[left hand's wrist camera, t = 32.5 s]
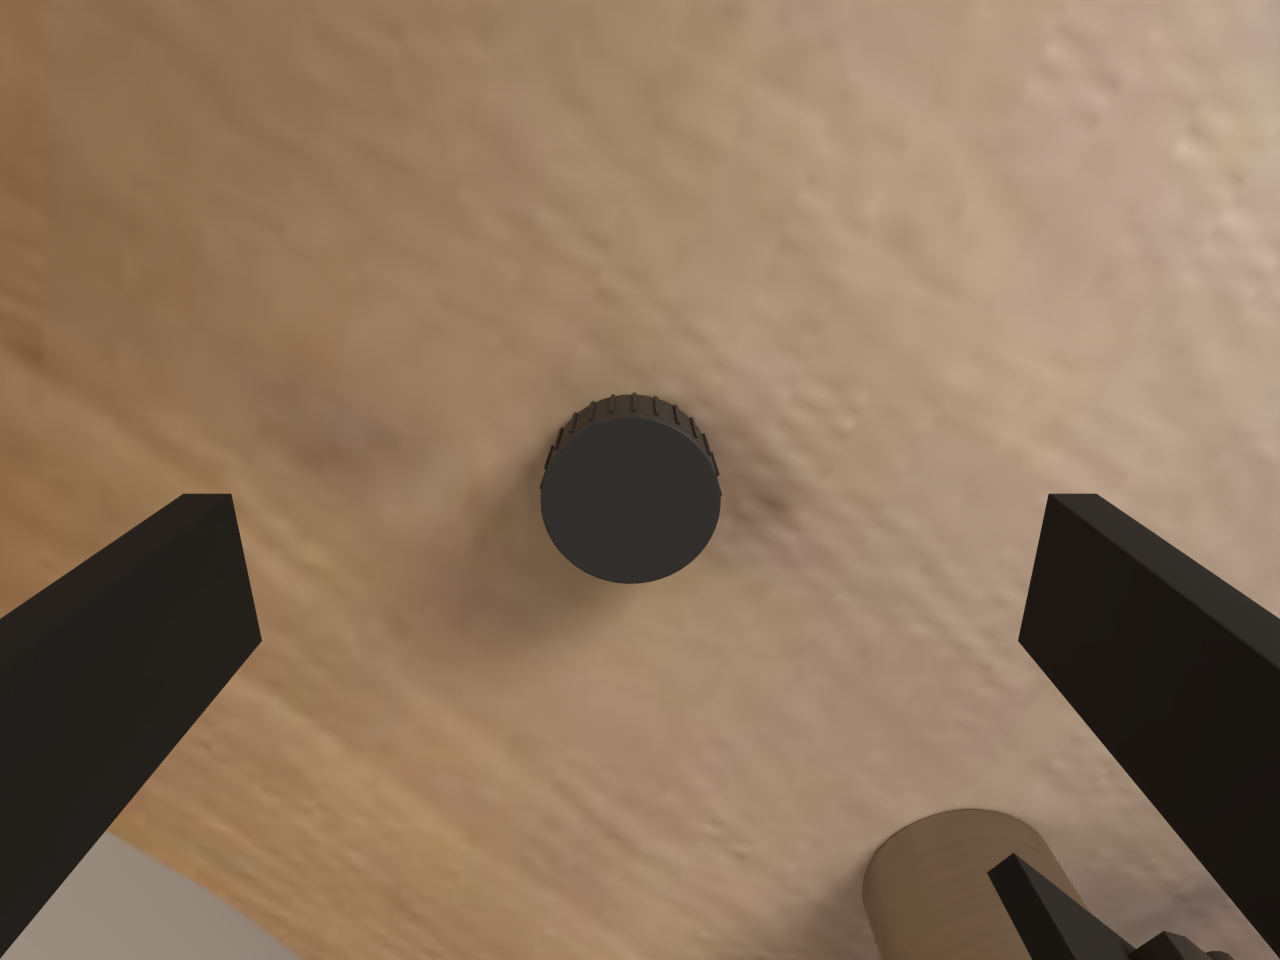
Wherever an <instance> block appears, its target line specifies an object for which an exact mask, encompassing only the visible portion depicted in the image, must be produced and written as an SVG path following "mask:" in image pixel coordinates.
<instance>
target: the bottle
mask: <svg viewBox="0 0 1280 960" xmlns="http://www.w3.org/2000/svg"><path fill="white" fill-rule="evenodd" d="M1012 853H1015V854H1016V855H1017V856H1019V857H1020V858H1021V859H1022V860H1024V861H1025V862H1026V863H1027V864H1029V865H1030V866H1031V867H1033V868H1034V869H1035V870H1036V871H1038V872H1039V873H1040V874H1041V875H1043V876H1044V877H1045V878H1046V879H1048V880H1049V881H1050V882H1051V883H1053V884H1054V885H1055V886H1057V887H1058V888H1059V889H1060V890H1062V891H1063V892H1064V893H1065V894H1067V895H1068V896H1069V897H1070V898H1072V899H1073V900H1074V901H1076V902H1077V903H1078V904H1079V905H1081V906H1082V907H1083V908H1084V909H1086V910H1087V911H1088V912H1089V913H1090V911H1089V910H1088V908H1087V907H1086V905H1085V903H1084V902H1083V900H1082V899H1081V897H1080V896H1079V894H1078V892H1077V891H1076V889H1075V888H1074V886H1073V885H1072V883H1071V881H1070V880H1069V878H1068V877H1067V875H1066V874H1065V872H1064V871H1063V869H1062V867H1061V866H1060V864H1059V863H1058V861H1057V860H1056V858H1055V856H1054V855H1053V853H1052V852H1051V850H1050V849H1049V847H1048V845H1047V844H1046V842H1045V841H1044V840H1043V838H1042V837H1041V836H1040V835H1039V834H1038V833H1037V832H1036V831H1035V830H1034V829H1032V828H1031V827H1030V826H1028V825H1027V824H1025V823H1024V822H1022V821H1020V820H1018V819H1016V818H1014V817H1012V816H1009V815H1006V814H1003V813H999V812H994V811H989V810H977V809H967V810H955V811H948V812H944V813H940V814H936V815H933V816H930V817H927V818H924V819H922V820H919V821H917V822H915V823H913V824H911V825H909V826H908V827H906V828H904V829H903V830H901V831H900V832H898V833H897V834H896V835H894V836H893V837H892V838H890V839H889V840H888V841H887V842H886V843H885V844H884V845H883V846H882V847H881V849H880V850H879V851H878V852H877V853H876V855H875V856H874V858H873V860H872V861H871V863H870V865H869V867H868V869H867V872H866V874H865V878H864V883H863V903H864V906H865V910H866V913H867V916H868V919H869V922H870V925H871V928H872V932H873V935H874V938H875V941H876V944H877V947H878V950H879V953H880V956H881V959H882V960H1032V958H1031V957H1030V955H1029V953H1028V951H1027V949H1026V947H1025V945H1024V943H1023V941H1022V939H1021V937H1020V935H1019V934H1018V932H1017V930H1016V928H1015V926H1014V924H1013V922H1012V920H1011V918H1010V916H1009V914H1008V913H1007V911H1006V909H1005V907H1004V905H1003V903H1002V901H1001V899H1000V897H999V895H998V893H997V892H996V890H995V888H994V886H993V884H992V882H991V880H990V878H989V876H988V874H987V872H988V871H990V870H991V869H992V868H994V867H995V866H996V865H998V864H999V863H1000V862H1002V861H1003V860H1004V859H1006V858H1007V857H1008V856H1010V855H1011V854H1012Z"/></svg>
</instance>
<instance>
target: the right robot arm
mask: <svg viewBox="0 0 1280 960" xmlns="http://www.w3.org/2000/svg"><path fill="white" fill-rule="evenodd" d="M987 874H988V876H989V878H990V880H991V882H992V884H993V886H994V888H995V890H996V892H997V893H998V895H999V897H1000V899H1001V901H1002V903H1003V905H1004V907H1005V909H1006V911H1007V913H1008V914H1009V916H1010V918H1011V920H1012V922H1013V924H1014V926H1015V928H1016V930H1017V932H1018V934H1019V935H1020V937H1021V939H1022V941H1023V943H1024V945H1025V947H1026V949H1027V951H1028V953H1029V955H1030V957H1031V958H1032V960H1234V959H1233V958H1232V957H1231V956H1230V955H1229V954H1226V953H1224V952H1220V951H1211V952H1207V953H1204V952H1203V951H1201V950H1200V949H1199V948H1198V947H1197V946H1196V945H1195V944H1193V943H1192V942H1191V941H1190V940H1188V939H1187V938H1186V937H1184V936H1180V935H1176V934H1173V933H1169V932H1166V931H1163V932H1162V933H1160V934H1159V935H1157V936H1156V937H1154V938H1153V939H1151V940H1150V941H1148V942H1147V943H1145V944H1144V945H1142V946H1141V947H1139V948H1138V949H1135V948H1134V947H1133V946H1131V945H1130V944H1129V943H1127V942H1126V941H1125V940H1124V939H1122V938H1121V937H1120V936H1119V935H1117V934H1116V933H1115V932H1114V931H1112V930H1111V929H1110V928H1108V927H1107V926H1106V925H1105V924H1103V923H1102V922H1101V921H1100V920H1098V919H1097V918H1096V917H1095V916H1093V915H1092V914H1091V913H1089V912H1088V911H1087V910H1086V909H1084V908H1083V907H1082V906H1081V905H1079V904H1078V903H1077V902H1076V901H1074V900H1073V899H1072V898H1070V897H1069V896H1068V895H1067V894H1065V893H1064V892H1063V891H1062V890H1060V889H1059V888H1058V887H1057V886H1055V885H1054V884H1053V883H1051V882H1050V881H1049V880H1048V879H1046V878H1045V877H1044V876H1043V875H1041V874H1040V873H1039V872H1038V871H1036V870H1035V869H1034V868H1033V867H1031V866H1030V865H1029V864H1027V863H1026V862H1025V861H1024V860H1022V859H1021V858H1020V857H1019V856H1017V855H1016V854H1015V853H1012V854H1011V855H1010V856H1008V857H1007V858H1006V859H1004V860H1003V861H1002V862H1000V863H999V864H998V865H996V866H995V867H994V868H992V869H991V870H990V871H988V872H987Z"/></svg>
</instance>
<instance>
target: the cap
mask: <svg viewBox="0 0 1280 960" xmlns="http://www.w3.org/2000/svg"><path fill="white" fill-rule="evenodd" d="M544 469H546V470H545V473H544V476H543V479H542V482H541V485H540V489H541V511H542V516H543V521H544V524H545V526H546V529H547V532H548V534H549V536H550V537H551V539H552V541H553V543H554V544H555V546H556V547H557V548H558V550H559V551H560V552H561V553H562V554H563V555H564V556H565V557H566V558H567V559H568V560H569V561H570V562H571V563H573V564H574V565H575V566H576V567H578V568H580V569H581V570H583V571H584V572H586V573H588V574H590V575H592V576H594V577H597V578H600V579H603V580H607V581H611V582H616V583H626V584H631V583H645V582H651V581H655V580H658V579H662V578H664V577H667V576H669V575H672V574H673V573H675V572H677V571H679V570H681V569H682V568H684V567H685V566H686V565H688V564H689V563H690V562H691V561H693V560H694V559H695V558H696V557H697V556H698V555H699V554H700V552H701V551H702V550H703V549H704V548H705V546H706V545H707V543H708V542H709V540H710V538H711V537H712V534H713V532H714V530H715V528H716V525H717V521H718V518H719V512H720V498H721V494H722V493H721V490H720V487H719V482H718V479H717V476H719V472H718V469H717V465H716V462H715V459H714V456H713V452H711V451H710V448H709V445H708V441H707V438H706V435H705V433H704V434H702V433H701V432H700V430H699V429H698V427H697V426H696V425H695V422H694V419H693V418H692V417H691V418H689V417H688V416H686V415H685V414H684V413H683V412H681V411H680V410H679V409H678V407H677V405H675V404H674V406H672V405H670V404H669V403H667V402H664V401H661V400H659V399H658V397H657V396H654V398H652V397H648V396H641V395H636V393H633V395H620V396H615V394H613V395H611V397H610V398H606V399H603V400H600V401H598V402H596V403H595V402H594V401H592V402H591V404H590V406H588V407H586V408H585V409H583V410H582V411H580V412H579V413H578V414H577V413H576V412H575V413H574V414H573V417H572V419H571V420H570V421H569V422H568V423H567V425H566V426H565V427H564V429H563V428H562V427H561V429H560V430H559V433H558V436H557V439H556V443H555V446H551V449H550V452H549V455H548V458H547V461H546V464H545V467H544Z"/></svg>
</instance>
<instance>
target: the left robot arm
mask: <svg viewBox="0 0 1280 960" xmlns="http://www.w3.org/2000/svg"><path fill="white" fill-rule="evenodd" d="M261 641H262V639H261V634H260V629H259V624H258V620H257V615H256V610H255V605H254V601H253V596H252V591H251V586H250V581H249V577H248V572H247V567H246V562H245V557H244V553H243V548H242V543H241V538H240V533H239V529H238V524H237V519H236V514H235V509H234V505H233V500H232V495H231V494H182V495H181V496H180V497H178V498H177V499H175V500H174V501H172V502H171V503H169V504H168V505H166V506H165V507H163V508H162V509H161V510H159V511H158V512H156V513H155V514H153V515H152V516H150V517H149V518H147V519H146V520H144V521H143V522H142V523H140V524H139V525H137V526H136V527H134V528H133V529H131V530H130V531H128V532H127V533H125V534H124V535H122V536H121V537H120V538H118V539H117V540H115V541H114V542H112V543H111V544H109V545H108V546H106V547H105V548H103V549H102V550H101V551H99V552H98V553H96V554H95V555H93V556H92V557H90V558H89V559H87V560H86V561H84V562H83V563H81V564H80V565H79V566H77V567H76V568H74V569H73V570H71V571H70V572H68V573H67V574H65V575H64V576H62V577H61V578H60V579H58V580H57V581H55V582H54V583H52V584H51V585H49V586H48V587H46V588H45V589H43V590H42V591H41V592H39V593H38V594H36V595H35V596H33V597H32V598H30V599H29V600H27V601H26V602H24V603H23V604H21V605H20V606H19V607H17V608H16V609H14V610H13V611H11V612H10V613H8V614H7V615H5V616H4V617H2V618H1V619H0V958H1V957H2V956H3V954H4V953H5V952H6V951H7V950H8V948H9V947H10V946H11V945H12V944H13V942H14V941H15V940H16V939H17V937H18V936H19V935H20V934H21V933H22V931H23V930H24V929H25V928H26V927H27V925H28V924H29V923H30V922H31V920H32V919H33V918H34V917H35V916H36V914H37V913H38V912H39V911H40V910H41V908H42V907H43V906H44V905H45V903H46V902H47V901H48V900H49V899H50V897H51V896H52V895H53V894H54V893H55V891H56V890H57V889H58V888H59V886H60V885H61V884H62V883H63V882H64V880H65V879H66V878H67V877H68V876H69V874H70V873H71V872H72V871H73V869H74V868H75V867H76V866H77V865H78V863H79V862H80V861H81V860H82V858H83V857H84V856H85V855H86V854H87V852H88V851H89V850H90V849H91V848H92V846H93V845H94V844H95V843H96V842H97V840H98V839H99V838H100V837H101V835H102V834H103V833H104V832H105V831H106V829H107V828H108V827H109V826H110V825H111V823H112V822H113V821H114V820H115V819H116V817H117V816H118V815H119V814H120V812H121V811H122V810H123V809H124V808H125V806H126V805H127V804H128V803H129V802H130V800H131V799H132V798H133V797H134V795H135V794H136V793H137V792H138V791H139V789H140V788H141V787H142V786H143V785H144V783H145V782H146V781H147V780H148V778H149V777H150V776H151V775H152V774H153V772H154V771H155V770H156V769H157V768H158V766H159V765H160V764H161V763H162V761H163V760H164V759H165V758H166V757H167V755H168V754H169V753H170V752H171V751H172V749H173V748H174V747H175V746H176V744H177V743H178V742H179V741H180V740H181V738H182V737H183V736H184V735H185V734H186V732H187V731H188V730H189V729H190V727H191V726H192V725H193V724H194V723H195V721H196V720H197V719H198V718H199V717H200V715H201V714H202V713H203V712H204V710H205V709H206V708H207V707H208V706H209V704H210V703H211V702H212V701H213V700H214V698H215V697H216V696H217V695H218V693H219V692H220V691H221V690H222V689H223V687H224V686H225V685H226V684H227V683H228V681H229V680H230V679H231V678H232V677H233V675H234V674H235V673H236V672H237V670H238V669H239V668H240V667H241V666H242V664H243V663H244V662H245V661H246V660H247V658H248V657H249V656H250V655H251V653H252V652H253V651H254V650H255V649H256V647H257V646H258V645H259V644H260V643H261ZM1018 641H1019V643H1020V644H1021V645H1022V646H1023V647H1024V649H1025V650H1026V651H1027V652H1028V653H1029V655H1030V656H1031V657H1032V658H1033V660H1034V661H1035V662H1036V663H1037V664H1038V666H1039V667H1040V668H1041V669H1042V670H1043V672H1044V673H1045V674H1046V675H1047V677H1048V678H1049V679H1050V680H1051V681H1052V683H1053V684H1054V685H1055V686H1056V687H1057V689H1058V690H1059V691H1060V692H1061V693H1062V695H1063V696H1064V697H1065V698H1066V700H1067V701H1068V702H1069V703H1070V704H1071V706H1072V707H1073V708H1074V709H1075V710H1076V712H1077V713H1078V714H1079V715H1080V717H1081V718H1082V719H1083V720H1084V721H1085V723H1086V724H1087V725H1088V726H1089V727H1090V729H1091V730H1092V731H1093V732H1094V734H1095V735H1096V736H1097V737H1098V738H1099V740H1100V741H1101V742H1102V743H1103V744H1104V746H1105V747H1106V748H1107V749H1108V751H1109V752H1110V753H1111V754H1112V755H1113V757H1114V758H1115V759H1116V760H1117V761H1118V763H1119V764H1120V765H1121V766H1122V768H1123V769H1124V770H1125V771H1126V772H1127V774H1128V775H1129V776H1130V777H1131V778H1132V780H1133V781H1134V782H1135V783H1136V785H1137V786H1138V787H1139V788H1140V789H1141V791H1142V792H1143V793H1144V794H1145V795H1146V797H1147V798H1148V799H1149V800H1150V802H1151V803H1152V804H1153V805H1154V806H1155V808H1156V809H1157V810H1158V811H1159V812H1160V814H1161V815H1162V816H1163V817H1164V819H1165V820H1166V821H1167V822H1168V823H1169V825H1170V826H1171V827H1172V828H1173V829H1174V831H1175V832H1176V833H1177V834H1178V835H1179V837H1180V838H1181V839H1182V840H1183V842H1184V843H1185V844H1186V845H1187V846H1188V848H1189V849H1190V850H1191V851H1192V852H1193V854H1194V855H1195V856H1196V857H1197V859H1198V860H1199V861H1200V862H1201V863H1202V865H1203V866H1204V867H1205V868H1206V869H1207V871H1208V872H1209V873H1210V874H1211V876H1212V877H1213V878H1214V879H1215V880H1216V882H1217V883H1218V884H1219V885H1220V886H1221V888H1222V889H1223V890H1224V891H1225V893H1226V894H1227V895H1228V896H1229V897H1230V899H1231V900H1232V901H1233V902H1234V903H1235V905H1236V906H1237V907H1238V908H1239V910H1240V911H1241V912H1242V913H1243V914H1244V916H1245V917H1246V918H1247V919H1248V920H1249V922H1250V923H1251V924H1252V925H1253V927H1254V928H1255V929H1256V930H1257V931H1258V933H1259V934H1260V935H1261V936H1262V937H1263V939H1264V940H1265V941H1266V942H1267V944H1268V945H1269V946H1270V947H1271V948H1272V950H1273V951H1274V952H1275V953H1276V954H1277V956H1278V957H1279V958H1280V619H1279V618H1278V617H1276V616H1275V615H1273V614H1272V613H1270V612H1269V611H1267V610H1266V609H1264V608H1263V607H1261V606H1260V605H1259V604H1257V603H1256V602H1254V601H1253V600H1251V599H1250V598H1248V597H1247V596H1245V595H1244V594H1242V593H1241V592H1239V591H1238V590H1237V589H1235V588H1234V587H1232V586H1231V585H1229V584H1228V583H1226V582H1225V581H1223V580H1222V579H1220V578H1219V577H1218V576H1216V575H1215V574H1213V573H1212V572H1210V571H1209V570H1207V569H1206V568H1204V567H1203V566H1201V565H1200V564H1199V563H1197V562H1196V561H1194V560H1193V559H1191V558H1190V557H1188V556H1187V555H1185V554H1184V553H1182V552H1181V551H1179V550H1178V549H1177V548H1175V547H1174V546H1172V545H1171V544H1169V543H1168V542H1166V541H1165V540H1163V539H1162V538H1160V537H1159V536H1158V535H1156V534H1155V533H1153V532H1152V531H1150V530H1149V529H1147V528H1146V527H1144V526H1143V525H1141V524H1140V523H1138V522H1137V521H1136V520H1134V519H1133V518H1131V517H1130V516H1128V515H1127V514H1125V513H1124V512H1122V511H1121V510H1119V509H1118V508H1117V507H1115V506H1114V505H1112V504H1111V503H1109V502H1108V501H1106V500H1105V499H1103V498H1102V497H1100V496H1099V495H1098V494H1049V495H1048V500H1047V505H1046V509H1045V514H1044V519H1043V524H1042V529H1041V533H1040V538H1039V543H1038V548H1037V553H1036V557H1035V562H1034V567H1033V572H1032V577H1031V581H1030V586H1029V591H1028V596H1027V600H1026V605H1025V610H1024V615H1023V620H1022V624H1021V629H1020V634H1019V639H1018Z"/></svg>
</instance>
